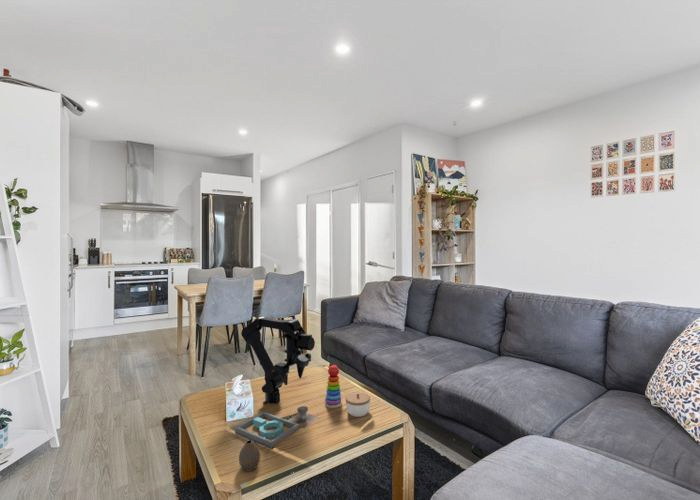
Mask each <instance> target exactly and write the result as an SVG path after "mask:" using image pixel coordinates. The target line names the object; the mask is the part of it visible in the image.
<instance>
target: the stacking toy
mask: <svg viewBox="0 0 700 500" xmlns="http://www.w3.org/2000/svg"><path fill="white" fill-rule="evenodd" d="M327 369H328V370H327V373H328V378H327V382H326V384H327V385H326V388H327V389H326V394H325V399H324V407H326V408H328V409H330V408H331V409H336V408H340V407H341V406H342V405H343V401H342V393H341V385H340V381H339V380H340V379H339V378H340V377H339V373H340V368H339V367H338V366H337V365H336V364H332V365H330V366H329V367H328V368H327Z"/></svg>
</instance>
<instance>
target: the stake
mask: <svg viewBox="0 0 700 500" xmlns="http://www.w3.org/2000/svg"><path fill="white" fill-rule="evenodd" d="M308 411H309V407H308V406H303V405H302V406H299V407H298V408H297V414H295V415H294V416H292V417H290V418H289V419H288V420H289V421H291V422H294V423H297V424H299V427H300V428H303V429H305V428H306V427H308V426H310V425H311V424H312V423H314V422H315V421H317V420H319V418H320V416H318V415H314V414H311V413H308Z"/></svg>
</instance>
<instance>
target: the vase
mask: <svg viewBox="0 0 700 500" xmlns="http://www.w3.org/2000/svg"><path fill="white" fill-rule="evenodd" d="M260 460H261V452H260V448H259V446H258V445H257V443H256V442H253V440H249V439H247V440H246V441H245V442H244V445H243V446H242V447H241V449H240V451H239V454H238V463H239V464H238V465H239V466H240V468H241V469H242V470H244V471H246V472H251V471H253V470H255V469H256V468H257V467H258V465H259V463H260Z"/></svg>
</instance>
